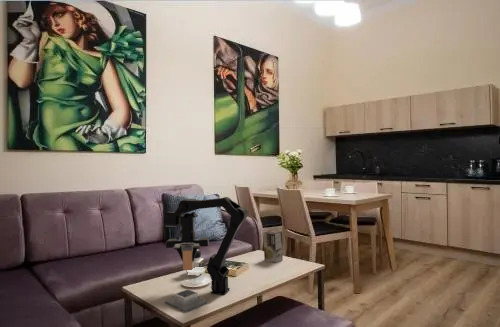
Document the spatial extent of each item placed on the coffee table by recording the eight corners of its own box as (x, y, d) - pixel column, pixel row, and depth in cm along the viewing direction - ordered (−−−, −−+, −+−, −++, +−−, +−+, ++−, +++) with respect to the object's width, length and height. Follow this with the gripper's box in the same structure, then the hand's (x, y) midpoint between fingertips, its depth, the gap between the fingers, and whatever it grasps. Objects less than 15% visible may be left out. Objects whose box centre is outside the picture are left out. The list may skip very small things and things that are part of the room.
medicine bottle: (199, 276, 160) (198, 252, 160) (186, 275, 161) (185, 252, 161) (204, 271, 167) (203, 248, 167) (191, 271, 168) (190, 248, 168)
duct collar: (207, 302, 129) (207, 293, 129) (185, 312, 121) (185, 302, 121) (186, 294, 138) (186, 285, 138) (164, 302, 130) (164, 293, 130)
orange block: (193, 266, 146) (192, 244, 146) (192, 269, 142) (191, 247, 142) (184, 267, 146) (184, 245, 146) (183, 270, 142) (182, 247, 142)
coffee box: (283, 260, 183) (282, 232, 183) (276, 263, 178) (275, 234, 178) (270, 257, 189) (270, 230, 189) (263, 260, 184) (263, 232, 184)
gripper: (209, 223, 152) (210, 255, 152) (170, 224, 152) (170, 257, 152) (207, 227, 141) (208, 262, 141) (164, 229, 140) (165, 264, 140)
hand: (188, 261), depth 144 cm, fingers closed on orange block, 4 cm apart
